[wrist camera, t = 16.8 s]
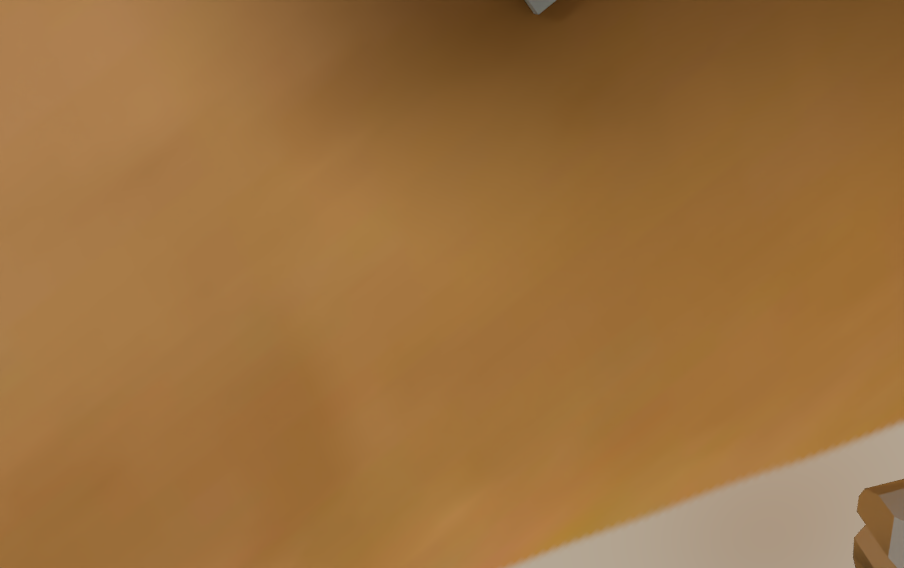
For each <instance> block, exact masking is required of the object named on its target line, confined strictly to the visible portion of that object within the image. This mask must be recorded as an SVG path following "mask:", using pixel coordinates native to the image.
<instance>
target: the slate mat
mask: <svg viewBox="0 0 904 568" xmlns="http://www.w3.org/2000/svg"><path fill="white" fill-rule="evenodd" d="M555 1H556V0H525V2H526V3H527V4H528V6H529V7H530V9H531V10H532V11H533V13H534V14H538V15H539V14H540V13H541V12H543V11H544V10H545V9H546V8H547V7H549V6H550V5H551V4H552V3H553V2H555Z"/></svg>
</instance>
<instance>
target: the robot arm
mask: <svg viewBox="0 0 904 568" xmlns="http://www.w3.org/2000/svg"><path fill="white" fill-rule="evenodd" d="M857 512H858V514H859V515H860V517H861V518H862V520H863V521H864V523H865V524H866V525H865V526H864V527H863V528H862V529H861V531H860V532H859V533H858V534H857V535H856V536H855V537H854V549H853V560H854V564H855V568H904V479H902V480H898V481H894V482H890V483H886V484H882V485H878V486H874V487H870V488H865V489H864V490H863V492H862V493H861V494H860V495H859V500H858V507H857Z"/></svg>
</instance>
